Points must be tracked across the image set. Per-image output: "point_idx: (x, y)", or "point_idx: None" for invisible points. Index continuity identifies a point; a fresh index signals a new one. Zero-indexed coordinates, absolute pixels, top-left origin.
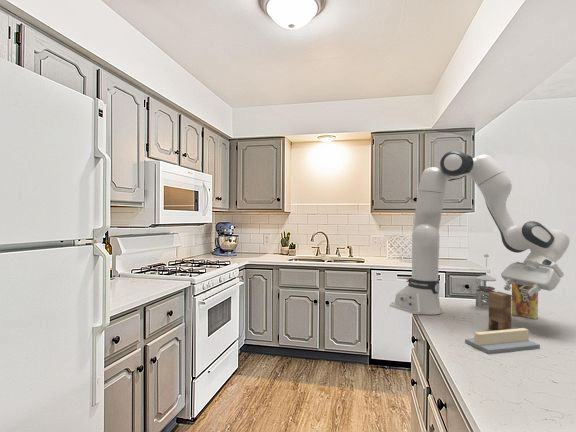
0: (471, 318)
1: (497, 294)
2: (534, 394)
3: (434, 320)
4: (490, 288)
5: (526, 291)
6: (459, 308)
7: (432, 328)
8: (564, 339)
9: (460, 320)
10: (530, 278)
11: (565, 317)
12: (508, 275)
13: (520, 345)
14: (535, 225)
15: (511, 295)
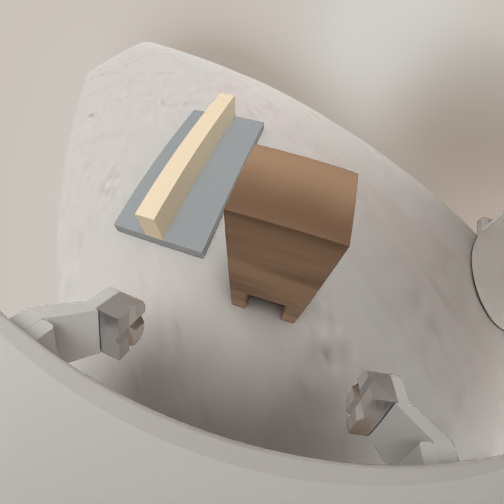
0: (419, 352)
1: (286, 152)
2: (112, 81)
3: (431, 218)
4: None
5: (132, 304)
6: (494, 417)
7: (374, 156)
8: None
9: (415, 289)
10: (44, 399)
11: None
12: (477, 474)
13: (151, 176)
14: None
15: (224, 212)
